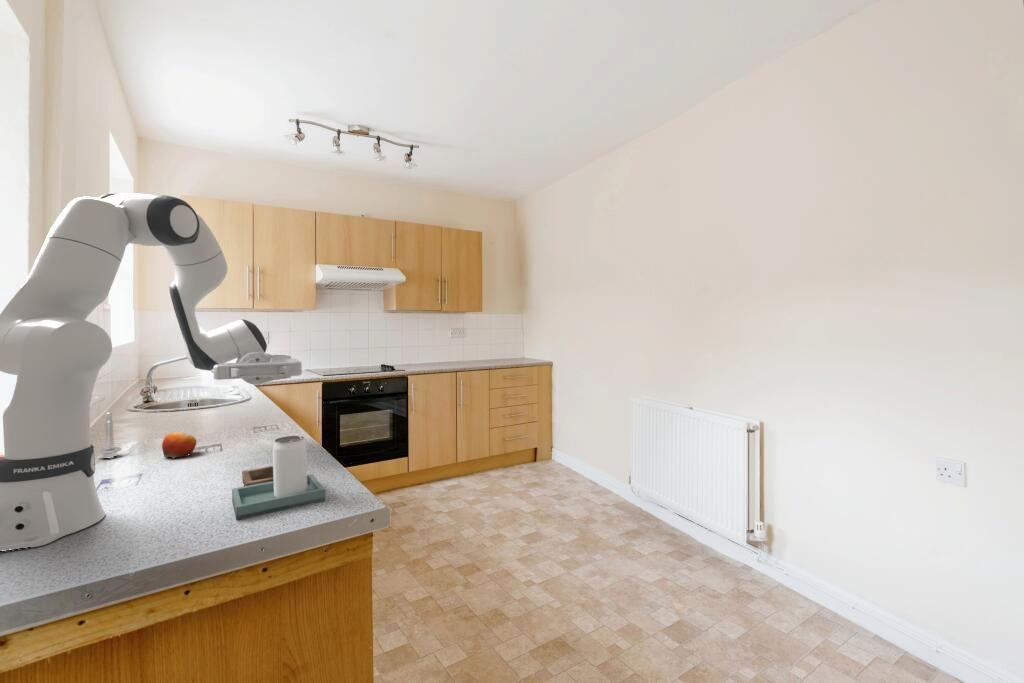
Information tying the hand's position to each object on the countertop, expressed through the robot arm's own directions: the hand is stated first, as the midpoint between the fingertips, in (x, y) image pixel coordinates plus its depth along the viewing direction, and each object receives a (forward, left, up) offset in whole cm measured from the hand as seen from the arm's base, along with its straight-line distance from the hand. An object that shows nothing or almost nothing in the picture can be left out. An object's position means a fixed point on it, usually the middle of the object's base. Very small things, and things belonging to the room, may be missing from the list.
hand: (262, 372), depth 113 cm
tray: (0, -23, -26) cm, 34 cm away
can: (+2, -22, -25) cm, 34 cm away
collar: (0, -10, -26) cm, 27 cm away
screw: (-34, +40, -26) cm, 59 cm away
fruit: (-18, +30, -26) cm, 44 cm away
